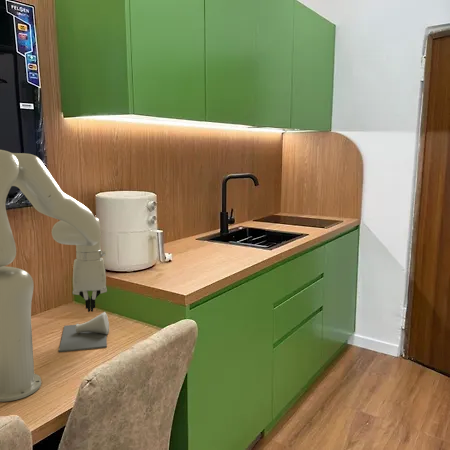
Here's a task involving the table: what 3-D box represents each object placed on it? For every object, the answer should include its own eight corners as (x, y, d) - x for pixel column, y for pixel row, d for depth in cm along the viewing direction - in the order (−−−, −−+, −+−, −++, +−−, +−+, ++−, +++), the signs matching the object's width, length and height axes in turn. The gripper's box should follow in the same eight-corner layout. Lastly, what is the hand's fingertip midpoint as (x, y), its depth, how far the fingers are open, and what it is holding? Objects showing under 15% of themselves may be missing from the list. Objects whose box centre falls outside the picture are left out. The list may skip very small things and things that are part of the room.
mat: (58, 352, 129) (58, 350, 129) (64, 327, 148) (64, 325, 148) (106, 347, 133) (106, 345, 133) (106, 323, 152) (106, 322, 152)
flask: (103, 321, 138) (72, 327, 137) (109, 338, 141) (78, 344, 140) (105, 307, 144) (75, 313, 143) (110, 324, 147) (81, 329, 147)
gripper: (112, 252, 143) (113, 304, 145) (64, 254, 138) (67, 308, 141) (113, 257, 135) (114, 312, 138) (62, 259, 131) (65, 316, 134)
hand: (90, 310), depth 140 cm, fingers closed
